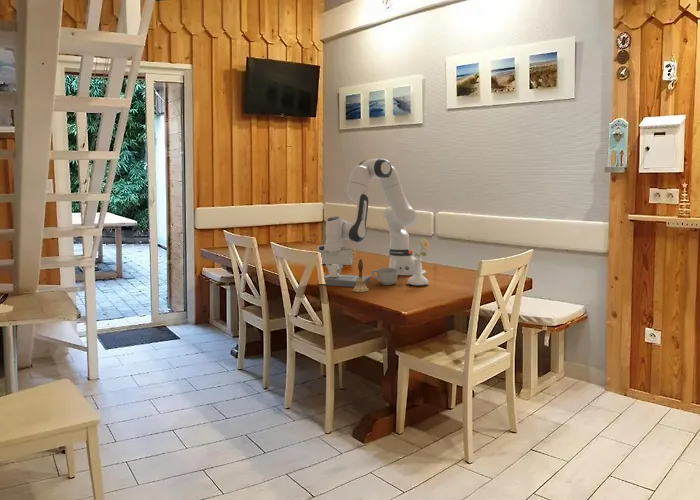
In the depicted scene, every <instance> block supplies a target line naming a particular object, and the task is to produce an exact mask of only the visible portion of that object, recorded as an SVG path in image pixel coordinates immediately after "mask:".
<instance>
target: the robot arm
mask: <svg viewBox="0 0 700 500" xmlns="http://www.w3.org/2000/svg"><path fill="white" fill-rule="evenodd" d="M373 179H374V180H376V179H378V180H379V182H380V186H381V190H382V193H383V197H384V199H385V202H386V203H388V204H389V206H387V207H386V208H385V209H384V211H383V212H382V215H383V219H384V221H385V222H386V225H387V229H388V232H389V244H390V245H389V253H388V255H389V256H388V257H389V263H388V268H395V269H397V270H398V274H397V276H413V275H414V274H415V272H416V265H415V262H414V260H413V259H417V258H416V257H415V255H413V252H414V251H413V250H414V249H410V235H409V233H408V232H407V229H406V227H407V226H409V227H410V226H412V225H414V224H415V223H417V222H416V221H417V220H418V219H417V218H418V214H417V212H416V210H415V209H414V208H413V207H412V206H411V205H410V203H409V201H408V199H407V198H406V196H405V193H404V190H403V188H402V187H403V186H402V184H401V180H400V177H399V174H398V172H397V170H396V168H395V167H394V166H393V165H391V163H390V161H389V160H388V159H385V158H382V157H381V158H371V159H365V160H362V161H361V162H360V163H359V164H358V165H356V166H354V167H353V169H352V170H351V172H350V176H349V179H348V182H347V185H346V195H347V197H348V199H349V200H351V202H354V203H355V205H356V214H355V221H353V222H349V221H346V220H344V219H342V217H340V216H331V217H328V218H327V219H326V223H325V237H326V238H325V243H324V244H322V245H321V244H320V245H319V246H317V251H316V253H317V252H320V253H321V257H322V264H321V265H325V267H326V268H327V272H328V273H329V266H330V265H332V264H335V265H339V269H337V273H339V274H341V272H342V269H343V267H344V266H350V265H352V264H353V250H352V249H351V248H350V247H343V240H347V241H351V242H355V243H360V242H361V241H363V240H364V239H365V237H366V235H367V219H368V210H369V197H368V196H367V194H368V187H369V182H370V180H373ZM422 265H423V264H422V263H421V264H420V273H421V274H422V275H423V276H424V275H425V274H426V273H427V271H426V269H423V266H422Z"/></svg>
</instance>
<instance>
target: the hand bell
mask: <svg viewBox="0 0 700 500" xmlns="http://www.w3.org/2000/svg"><path fill="white" fill-rule="evenodd" d="M357 269H358V276H359V279H357V280H356V285H355V287H353V288H352V292H356V293H365V292H369V290H370V289H369V288H368V287H367V284H365V280H364V279H362V276H363V269H364V261H363V260H362V258H360V259H359V260H358V264H357Z"/></svg>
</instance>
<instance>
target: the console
mask: <svg viewBox="0 0 700 500" xmlns="http://www.w3.org/2000/svg"><path fill="white" fill-rule="evenodd" d="M323 277H324V279H325V282H326V285H325V286H333V287H334V286H335V287H348V288H349V287H350V288H354V287H355V285H356V280H357V279H359V275H357V274H356V275H355V274H353V275H352V274H339V276H338V277H329V273H328V274H326V275H324V276H323ZM362 279H364V280H365V284H366V285H368V284H369V283H371V276H369V275H362Z"/></svg>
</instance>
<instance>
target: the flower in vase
mask: <svg viewBox="0 0 700 500" xmlns="http://www.w3.org/2000/svg"><path fill="white" fill-rule="evenodd" d="M419 244H420V247H421V249H420V253H417V252H415V253H414V257H415V256H416V257H417V258H416V259H413V260H414V262H415V265H416V272H415V274H414V275H410V277H409V278H408V279H407V281H406V282H407V284H408V285H412V286H416V287H417V286H426V285H428V284H429V279H427V278H426V277H425V276H424V274H423V275H422V274H421V273H420V264H422V261H423V258H421V256H422V257H427V255H428V254H427V253H426V252H430V251H431V247H432V245H431V244H430V243H429V240H428V239H426V238H425V237H422V238H420V241H419ZM424 251H425V252H424Z"/></svg>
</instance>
